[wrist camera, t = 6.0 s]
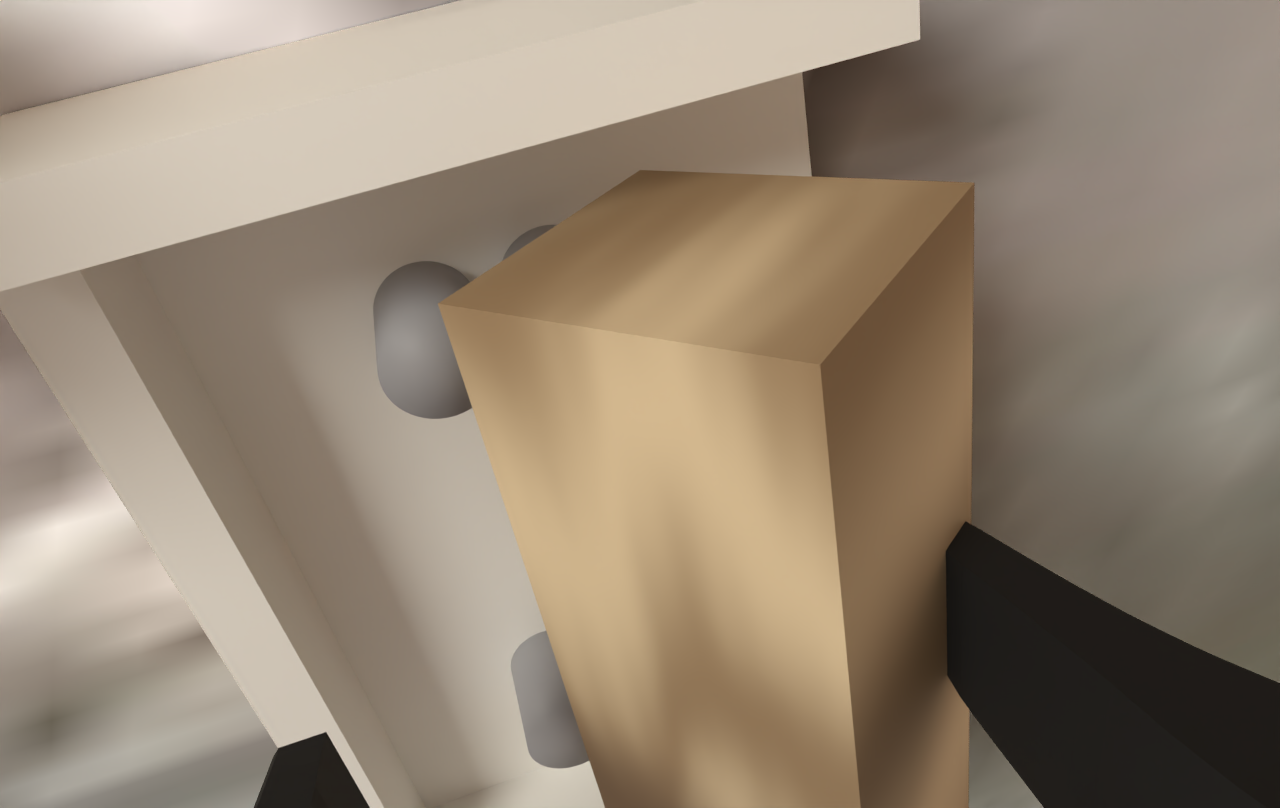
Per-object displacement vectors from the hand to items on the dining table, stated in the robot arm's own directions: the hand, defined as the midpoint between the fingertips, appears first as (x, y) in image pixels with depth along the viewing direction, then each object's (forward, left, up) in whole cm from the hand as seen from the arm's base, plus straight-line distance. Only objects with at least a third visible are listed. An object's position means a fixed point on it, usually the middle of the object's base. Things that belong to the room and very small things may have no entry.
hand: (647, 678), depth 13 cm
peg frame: (0, 0, -6) cm, 6 cm away
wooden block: (0, 0, -2) cm, 2 cm away
